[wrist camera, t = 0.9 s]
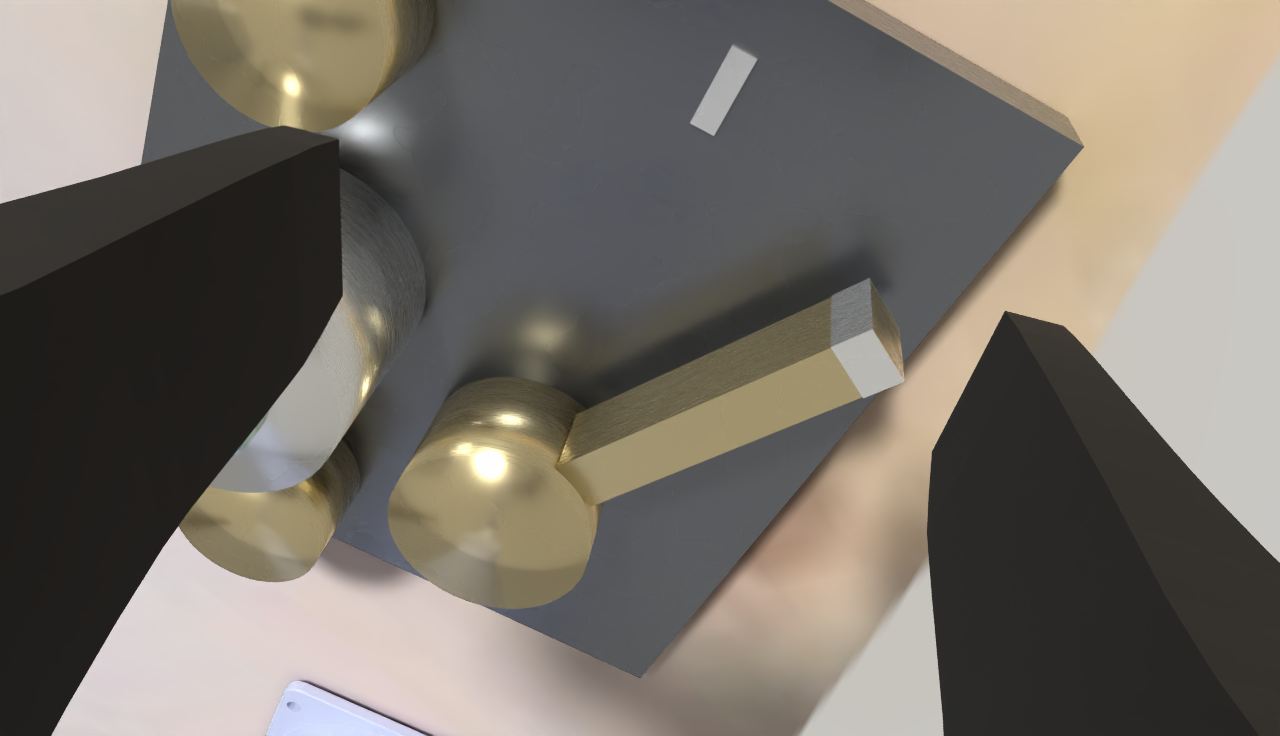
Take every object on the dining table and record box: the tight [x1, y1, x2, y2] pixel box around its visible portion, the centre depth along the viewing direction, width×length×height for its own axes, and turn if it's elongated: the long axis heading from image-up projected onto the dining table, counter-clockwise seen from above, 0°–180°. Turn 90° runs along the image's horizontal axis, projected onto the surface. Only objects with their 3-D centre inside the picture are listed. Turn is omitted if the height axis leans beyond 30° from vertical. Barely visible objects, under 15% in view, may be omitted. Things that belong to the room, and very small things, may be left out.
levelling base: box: [141, 0, 1084, 678], centre depth 19 cm, size 18×16×7 cm
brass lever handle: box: [388, 278, 904, 609], centre depth 20 cm, size 11×4×3 cm, turn 124°
